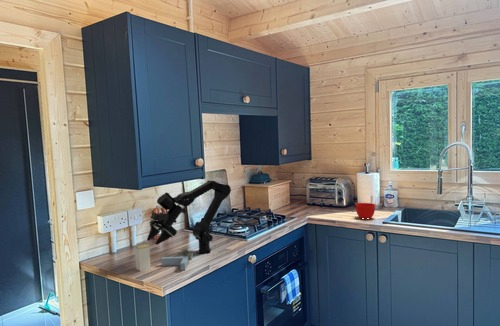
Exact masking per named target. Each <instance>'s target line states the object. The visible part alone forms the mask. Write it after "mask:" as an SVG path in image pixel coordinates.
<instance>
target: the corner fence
mask: <svg viewBox="0 0 500 326" xmlns="http://www.w3.org/2000/svg"><path fill="white" fill-rule="evenodd" d="M160 259H161V260H160V261H161V266H162V267H165V266H166V267H167V266H180V272H184V271H185V272H186V269H187V268H188V266H189V261H190V260H188V256H183V257H169V256H162V257H161V258H160Z"/></svg>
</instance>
